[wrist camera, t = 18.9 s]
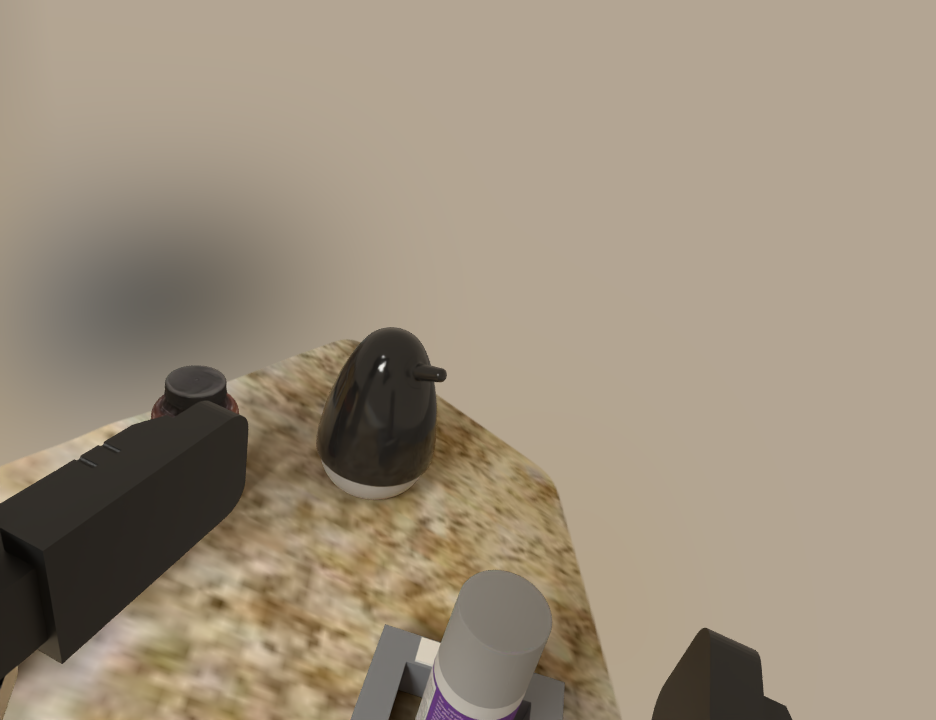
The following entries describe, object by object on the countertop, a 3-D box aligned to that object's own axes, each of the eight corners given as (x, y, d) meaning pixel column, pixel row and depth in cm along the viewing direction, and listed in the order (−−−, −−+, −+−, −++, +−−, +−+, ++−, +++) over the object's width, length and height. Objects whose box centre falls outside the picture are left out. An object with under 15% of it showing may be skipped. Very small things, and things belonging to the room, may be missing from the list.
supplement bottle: (175, 464, 51) (173, 349, 45) (246, 478, 51) (253, 366, 46) (139, 515, 46) (132, 392, 40) (219, 530, 46) (223, 410, 41)
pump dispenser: (368, 539, 49) (400, 383, 41) (287, 468, 53) (303, 317, 46) (448, 486, 56) (488, 346, 49) (372, 428, 61) (397, 293, 54)
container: (493, 799, 34) (575, 634, 27) (421, 842, 32) (490, 673, 25) (454, 722, 38) (517, 556, 30) (385, 755, 35) (437, 583, 28)
